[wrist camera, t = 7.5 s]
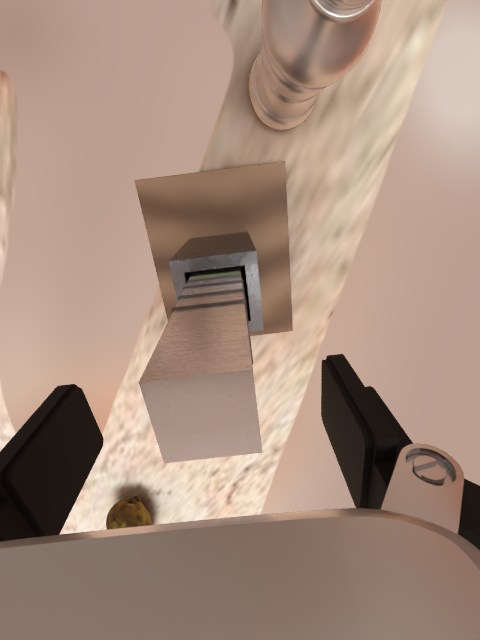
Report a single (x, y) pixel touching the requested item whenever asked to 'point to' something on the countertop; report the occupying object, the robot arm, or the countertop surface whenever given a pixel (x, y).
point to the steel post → (204, 373)
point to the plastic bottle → (306, 54)
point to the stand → (224, 235)
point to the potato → (128, 514)
